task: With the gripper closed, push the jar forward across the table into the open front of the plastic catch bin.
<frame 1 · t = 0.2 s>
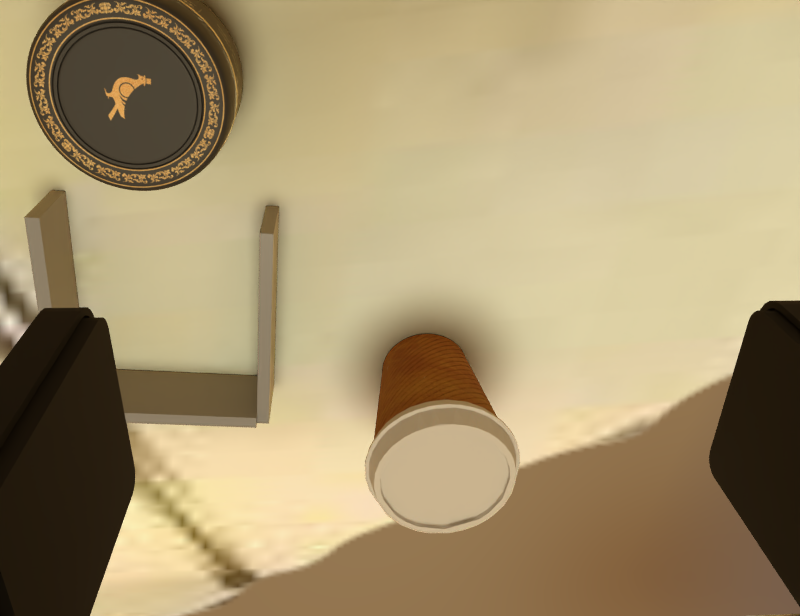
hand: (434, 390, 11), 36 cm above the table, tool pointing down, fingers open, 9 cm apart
catch bin: (172, 296, 49), on the table
disposable coffee cup: (424, 368, 54), on the table
jar: (161, 67, 43), on the table
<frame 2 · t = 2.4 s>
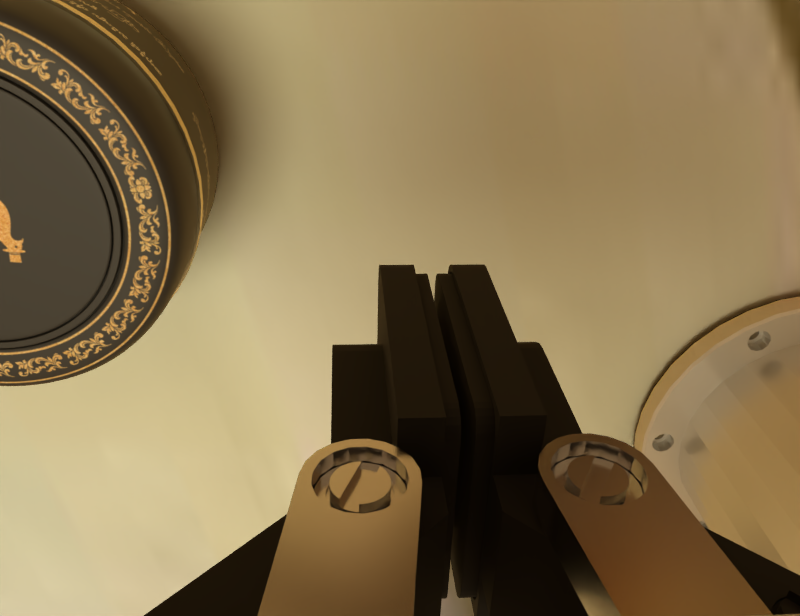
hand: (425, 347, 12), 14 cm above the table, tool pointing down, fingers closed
jar: (76, 131, 24), on the table
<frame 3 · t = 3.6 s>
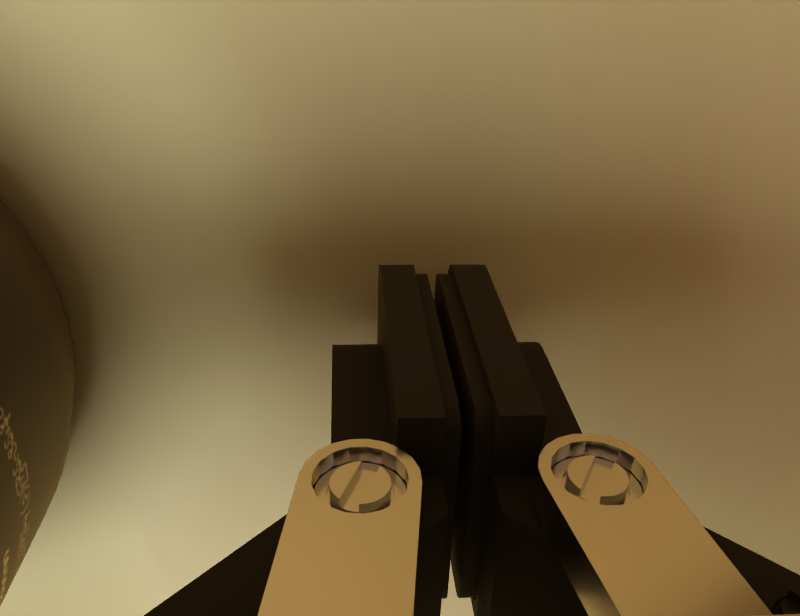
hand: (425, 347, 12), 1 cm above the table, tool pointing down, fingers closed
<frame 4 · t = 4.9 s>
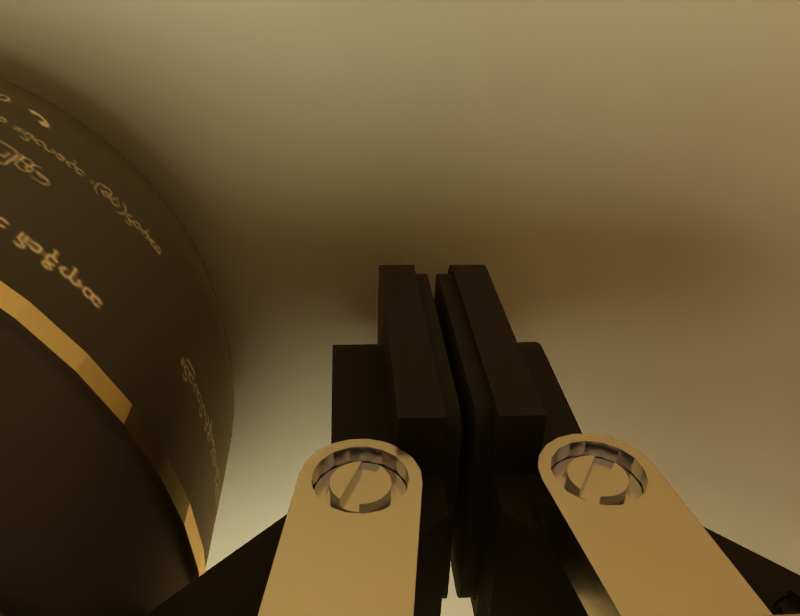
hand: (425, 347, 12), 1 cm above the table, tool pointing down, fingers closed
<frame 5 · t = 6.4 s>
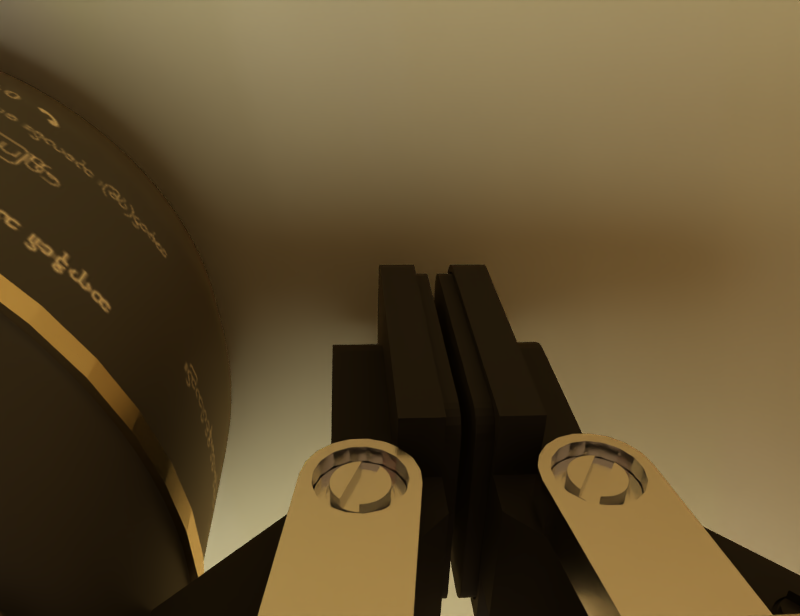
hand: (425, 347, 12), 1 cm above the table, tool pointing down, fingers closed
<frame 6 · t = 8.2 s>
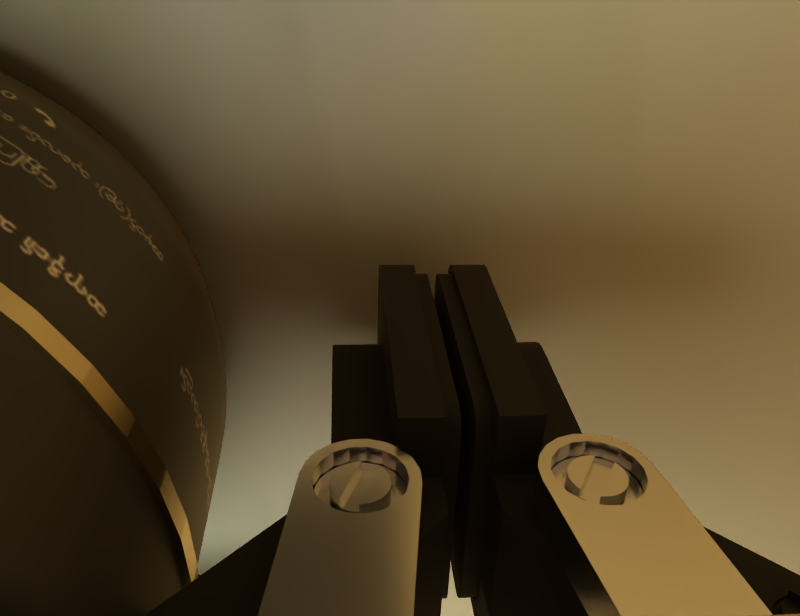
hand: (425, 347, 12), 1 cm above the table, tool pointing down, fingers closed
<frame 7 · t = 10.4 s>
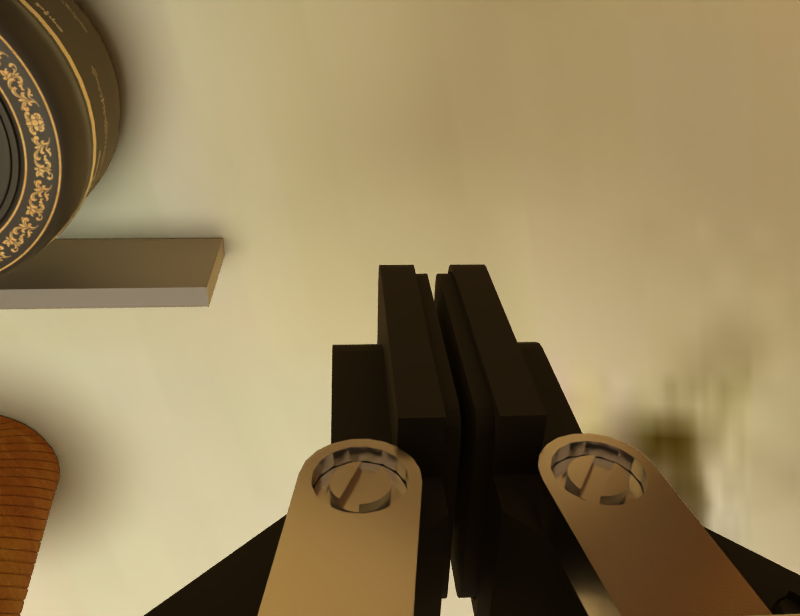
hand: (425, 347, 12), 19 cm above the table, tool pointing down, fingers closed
catch bin: (15, 84, 27), on the table
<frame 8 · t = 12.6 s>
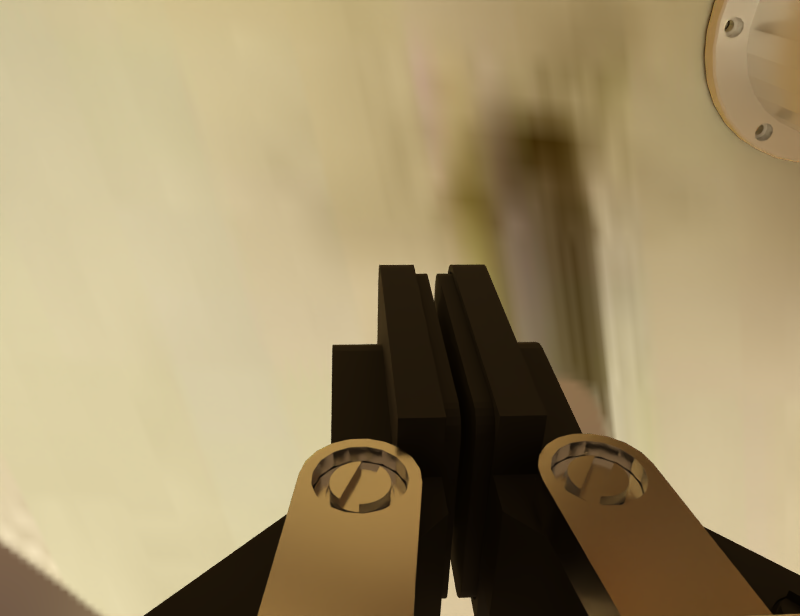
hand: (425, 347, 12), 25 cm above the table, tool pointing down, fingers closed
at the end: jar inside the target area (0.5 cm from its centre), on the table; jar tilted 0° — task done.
